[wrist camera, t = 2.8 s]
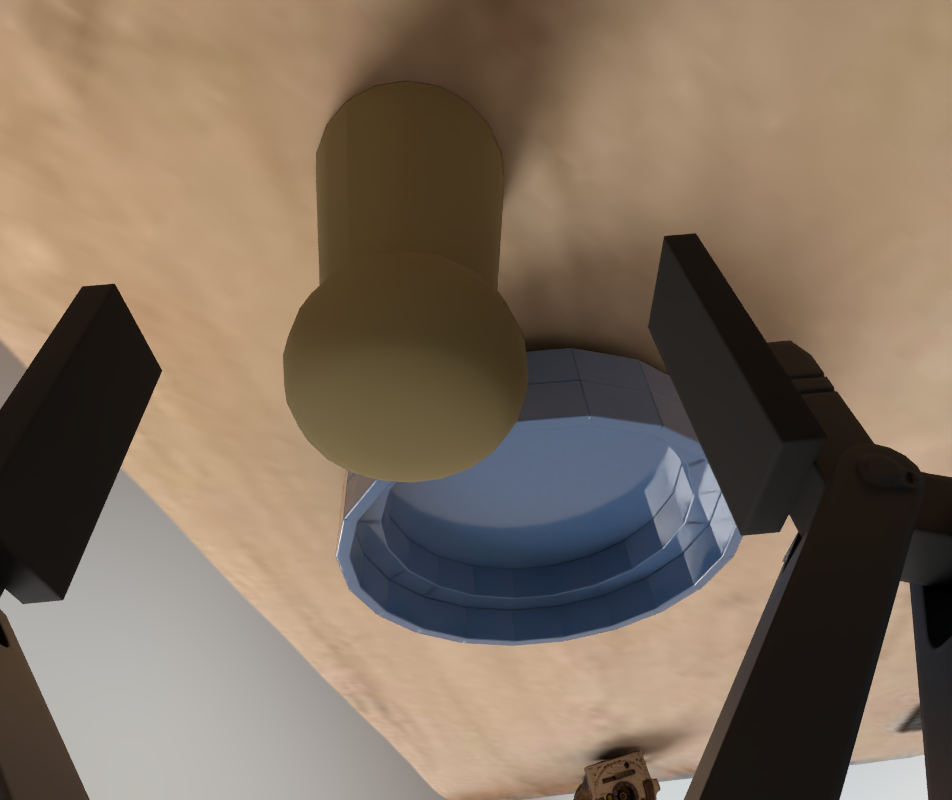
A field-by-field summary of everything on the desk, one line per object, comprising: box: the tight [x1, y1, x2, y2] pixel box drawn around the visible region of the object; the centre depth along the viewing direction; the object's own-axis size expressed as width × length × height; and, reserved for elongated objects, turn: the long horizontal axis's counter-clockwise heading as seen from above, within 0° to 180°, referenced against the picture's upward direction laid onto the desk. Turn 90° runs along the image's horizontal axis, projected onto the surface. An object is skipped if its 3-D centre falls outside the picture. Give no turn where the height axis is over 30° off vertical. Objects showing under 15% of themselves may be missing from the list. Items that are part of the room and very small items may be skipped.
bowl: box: [336, 348, 743, 646], centre depth 30 cm, size 18×18×4 cm
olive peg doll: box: [283, 81, 529, 482], centre depth 16 cm, size 6×6×11 cm
